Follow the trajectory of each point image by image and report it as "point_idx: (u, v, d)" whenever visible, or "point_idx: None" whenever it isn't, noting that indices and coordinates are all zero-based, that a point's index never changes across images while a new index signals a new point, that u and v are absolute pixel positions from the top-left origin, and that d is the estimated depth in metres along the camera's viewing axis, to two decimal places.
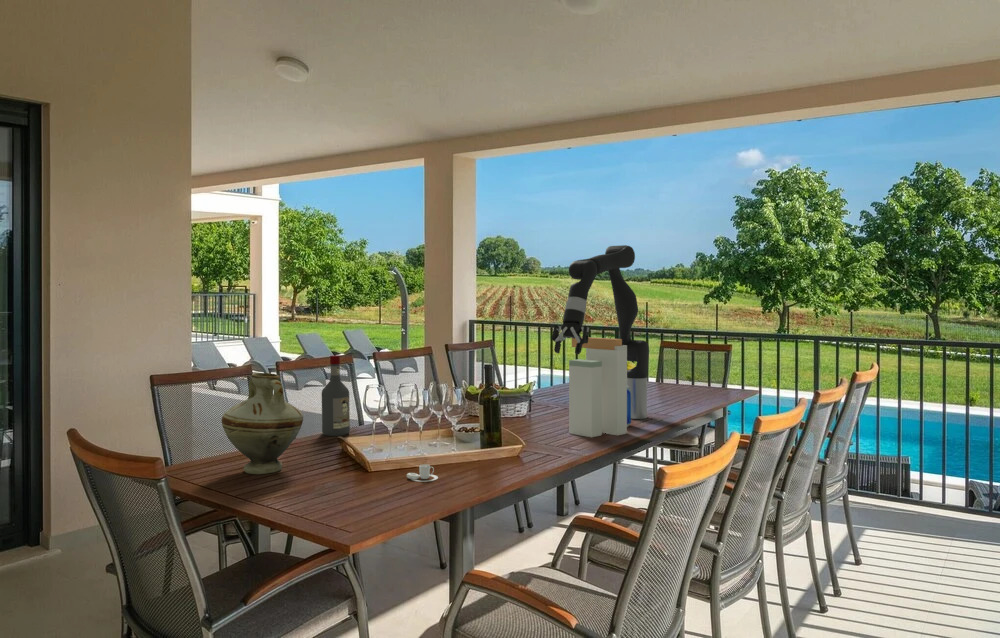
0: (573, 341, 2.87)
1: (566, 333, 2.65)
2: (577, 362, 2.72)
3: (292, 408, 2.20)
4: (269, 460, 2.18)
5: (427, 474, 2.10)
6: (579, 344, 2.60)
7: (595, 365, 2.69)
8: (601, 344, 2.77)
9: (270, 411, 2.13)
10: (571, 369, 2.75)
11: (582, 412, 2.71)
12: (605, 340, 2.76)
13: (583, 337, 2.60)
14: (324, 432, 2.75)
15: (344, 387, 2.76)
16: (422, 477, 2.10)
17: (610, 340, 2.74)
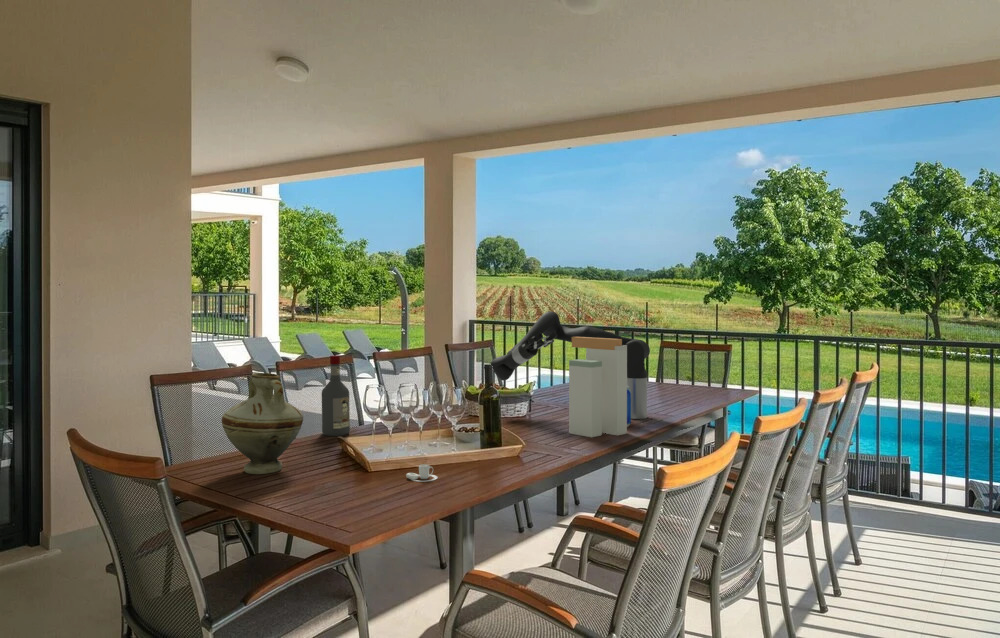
0: (573, 341, 2.87)
1: (540, 344, 3.02)
2: (577, 362, 2.72)
3: (292, 408, 2.20)
4: (269, 460, 2.18)
5: (427, 474, 2.10)
6: (536, 340, 2.95)
7: (595, 365, 2.69)
8: (601, 344, 2.77)
9: (270, 411, 2.13)
10: (571, 369, 2.75)
11: (582, 412, 2.71)
12: (605, 340, 2.76)
13: (530, 344, 2.96)
14: (324, 432, 2.75)
15: (344, 387, 2.76)
16: (422, 477, 2.10)
17: (610, 340, 2.74)
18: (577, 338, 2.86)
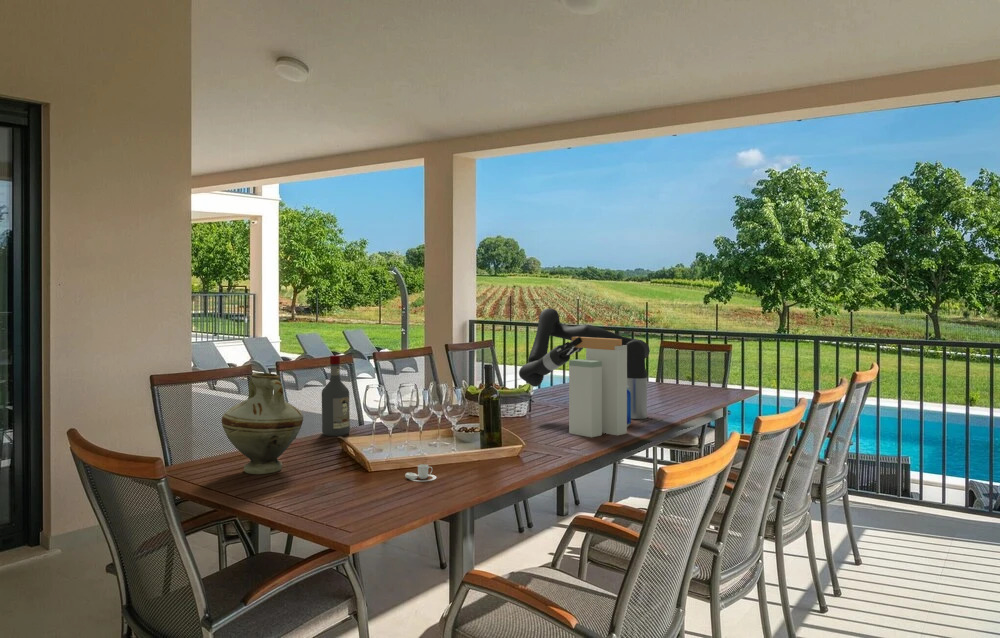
0: None
1: (571, 350, 2.91)
2: (577, 362, 2.72)
3: (292, 408, 2.20)
4: (269, 460, 2.18)
5: (425, 474, 2.10)
6: (574, 344, 2.86)
7: (595, 365, 2.69)
8: (601, 344, 2.77)
9: (270, 411, 2.13)
10: (571, 369, 2.75)
11: (582, 412, 2.71)
12: (605, 340, 2.76)
13: (568, 348, 2.86)
14: (324, 432, 2.75)
15: (344, 387, 2.76)
16: (421, 477, 2.10)
17: (610, 340, 2.74)
18: None
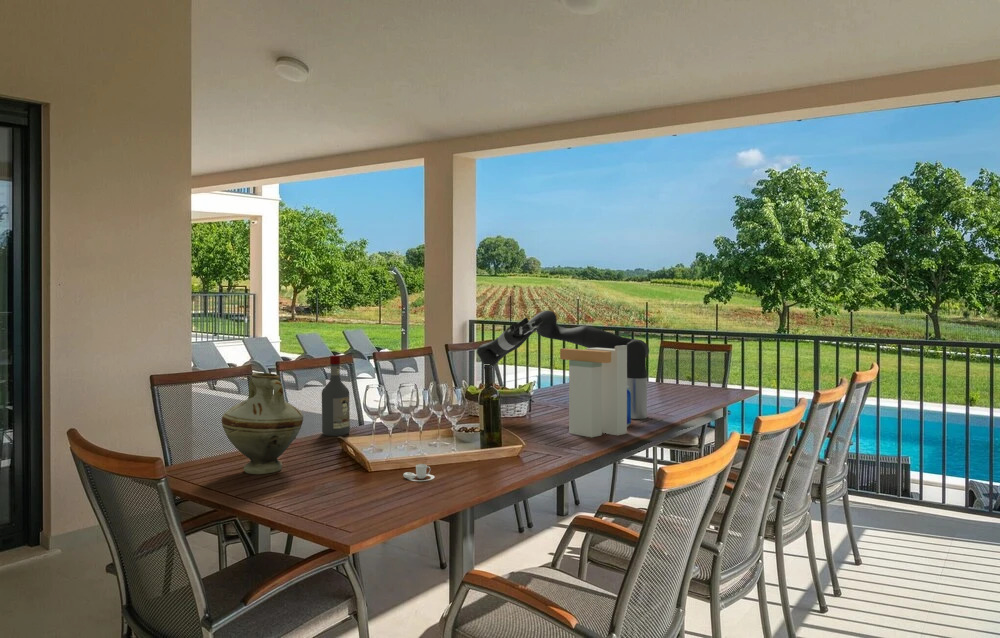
0: (561, 353, 2.79)
1: (526, 330, 2.97)
2: (577, 362, 2.72)
3: (292, 408, 2.20)
4: (269, 460, 2.18)
5: (423, 474, 2.11)
6: (521, 325, 2.91)
7: (595, 365, 2.69)
8: (590, 356, 2.69)
9: (270, 411, 2.13)
10: (571, 369, 2.75)
11: (582, 412, 2.71)
12: (594, 352, 2.68)
13: (515, 329, 2.91)
14: (324, 432, 2.75)
15: (344, 387, 2.76)
16: (418, 477, 2.11)
17: (599, 352, 2.66)
18: (566, 350, 2.78)
